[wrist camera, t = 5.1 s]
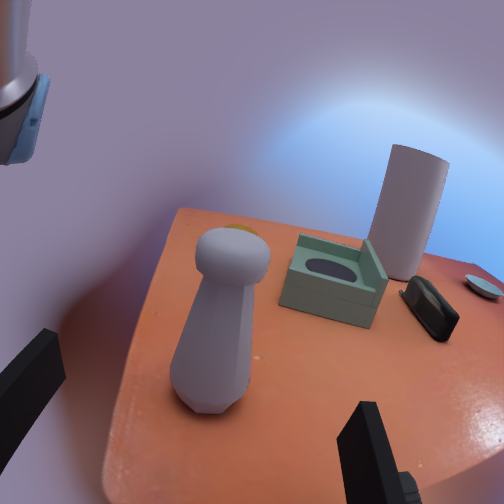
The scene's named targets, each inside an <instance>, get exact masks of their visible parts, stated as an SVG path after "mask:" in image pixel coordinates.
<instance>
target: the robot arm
mask: <svg viewBox="0 0 504 504" xmlns="http://www.w3.org/2000/svg"><path fill="white" fill-rule="evenodd" d="M31 2H32V0H0V165H6V166H7V165H9V164H15V163H24V162H26V161H28V160H29V159H30V158H31V157H32V155H33V153H34V149H35V145H36V140H37V136H38V131H39V127H40V122H41V118H42V114H43V110H44V105H45V101H46V97H47V93H48V89H49V84H50V78H49V77H48V76H46V75H43V74H39V75H37V69H38V68H37V61H36V60H35V58H34V56H33V55H32V54H31V53H30V52H28V51H26V47H27V34H28V24H29V16H30V8H31ZM65 379H66V376H65V371H64V367H63V362H62V357H61V351H60V346H59V340H58V334H57V333H55V332H53V331H50V330H48V329H45V328H44V329H43V330H42V331H41V332H40V333H39V334H38V335H37V336H36V337H35V338H34V339H33V340H32V341H31V342H30V343H29V344H28V345H27V346H26V347H25V348H24V349H23V350H22V351H21V352H20V353H19V354H18V355H17V356H16V357H15V358H14V359H13V360H12V361H11V363H9V365H8V366H7V367H6V368H5V369H4V370H3V371H2V372H1V373H0V475H1V473H2V472H3V470H4V468H5V467H6V465H7V463H8V462H9V460H10V459H11V457H12V456H13V454H14V452H15V451H16V449H17V448H18V446H19V445H20V443H21V441H22V440H23V439H24V437H25V435H26V434H27V433H28V431H29V430H30V428H31V427H32V425H33V424H34V422H35V421H36V419H37V418H38V416H39V415H40V414H41V412H42V411H43V409H44V408H45V406H46V405H47V404H48V402H49V401H50V399H51V398H52V397H53V395H54V394H55V392H56V391H57V390H58V388H59V387H60V386H61V384H62V383H63V381H64V380H65ZM336 440H337V445H338V451H339V457H340V463H341V469H342V475H343V482H344V488H345V495H346V501H347V504H422V502H421V497H420V494H419V493H418V488H417V484H416V481H415V480H414V478H413V477H412V476H411V474H410V473H409V472H408V471H407V472H398V470H397V467H396V463H395V460H394V457H393V453H392V450H391V447H390V444H389V441H388V437H387V434H386V431H385V428H384V425H383V422H382V419H381V416H380V413H379V410H378V407H377V404H376V402H368V401H360V402H359V404H358V406H357V407H356V409H355V411H354V412H353V414H352V415H351V417H350V419H349V420H348V422H347V423H346V425H345V427H344V428H343V430H342V431H341V433H340V434H339V436H338V437H337V439H336Z"/></svg>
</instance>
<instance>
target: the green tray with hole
mask: <svg viewBox="0 0 504 504" xmlns="http://www.w3.org/2000/svg"><path fill="white" fill-rule="evenodd" d="M388 281H389V279H388V277H387V275H386V273H385V271H384V269H383V267H382V264H381V262H380V260H379V258H378V257H377V255H376V253H375V251H374V249H373V247H372V245H371V243H370V241H369V240H366V239H364V241H363V244H362V247H361V250H360V249H357V248H353V247H350V246H346V245H343V244H339V243H335V242H332V241H328V240H325V239H321V238H317V237H314V236H310V235H307V234H303V233H300V234H299V238H298V242H297V246H296V249H295V252H294V255H293V259H292V262H291V265H290V266H289V269H288V273H287V276H286V280H285V284H284V287H283V291H282V295H281V298H280V302H279V305H281V306H285V307H288V308H292V309H296V310H299V311H303V312H307V313H310V314H314V315H318V316H321V317H325V318H329V319H333V320H337V321H340V322H344V323H348V324H352V325H356V326H360V327H364V328H368V329H369V328H370V325H371V323H372V321H373V318H374V316H375V314H376V311H377V308H378V306H379V304H380V301H381V299H382V296H383V294H384V291H385V289H386V286H387V283H388Z"/></svg>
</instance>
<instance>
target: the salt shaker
mask: <svg viewBox="0 0 504 504" xmlns="http://www.w3.org/2000/svg"><path fill="white" fill-rule="evenodd" d="M195 260H196V267H197V270H198V271H199V272H201V273H202V274H203V275H204V276H203V279H202V281H201V284H200V286H199V289H198V292H197V294H196V297H195V299H194V302H193V305H192V307H191V310H190V313H189V315H188V318H187V321H186V323H185V326H184V329H183V332H182V334H181V337H180V340H179V343H178V345H177V348H176V351H175V354H174V356H173V359H172V362H171V365H170V380H171V383H172V385H173V387H174V389H175V390H176V392H177V394H178V396H179V397H180V399H181V400H182V401H183V402H185V403H186V404H187V405H188V406H189V407H190V408H191V409H192V410H194V411H195V412H196V413H211V414H221V413H222V412H224V411H225V410H226V409H227V408H228V407H229V406H230V405H231V404H233V403H234V402H236V401H237V400H238V399H240V398H241V397H243V395H244V393H245V391H246V389H247V386H248V384H249V381H250V368H251V348H252V327H253V306H254V285H255V284H256V283H259V282H261V280H262V279H263V277H264V276H265V274H266V272H267V269H268V266H269V263H270V249H269V248H268V246H267V244H266V243H265V242H264V240H263V239H261V238H260V237H258V236H256V235H254V234H252V233H249V232H246V231H244V230H239V229H234V228H215V229H210V230H209V231H207V232H206V233H204V234H203V235H202V236H200V237H199V240H198V243H197V246H196V254H195Z"/></svg>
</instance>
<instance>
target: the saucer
mask: <svg viewBox="0 0 504 504" xmlns="http://www.w3.org/2000/svg"><path fill="white" fill-rule="evenodd" d="M466 278H467V281H468V283H469V285H470V287H471V288H472V289H473V290H474V291H475V292H477V293H478V294H480V295H482V296H484V297H487V298H498V297H500V296H502V295H503V292H502V291H501V290H500V289H499V288H497V287H496V286H494V285H493V284H491V283H489V282H487V281H485V280H483V279H481V278H479V277H476V276H473V275H466Z"/></svg>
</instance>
